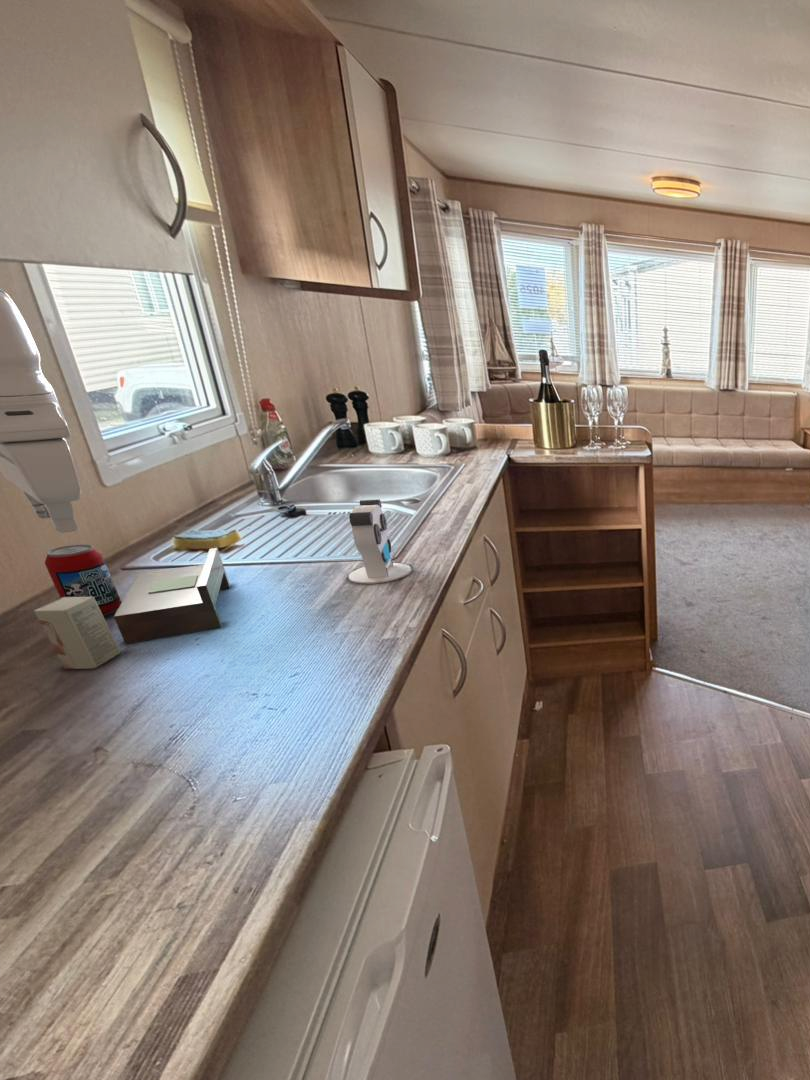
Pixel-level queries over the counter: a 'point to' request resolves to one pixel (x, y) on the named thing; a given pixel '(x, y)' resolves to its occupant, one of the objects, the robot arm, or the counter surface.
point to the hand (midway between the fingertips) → (57, 523)
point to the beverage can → (83, 575)
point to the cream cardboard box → (78, 632)
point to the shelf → (173, 601)
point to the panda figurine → (373, 545)
